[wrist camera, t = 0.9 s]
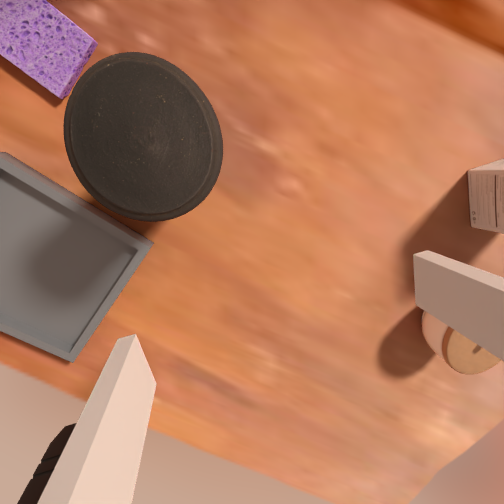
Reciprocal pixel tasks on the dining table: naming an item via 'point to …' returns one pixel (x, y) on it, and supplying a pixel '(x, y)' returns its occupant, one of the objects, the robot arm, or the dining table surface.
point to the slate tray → (58, 261)
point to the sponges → (44, 43)
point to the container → (142, 137)
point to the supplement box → (487, 196)
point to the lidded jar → (456, 347)
